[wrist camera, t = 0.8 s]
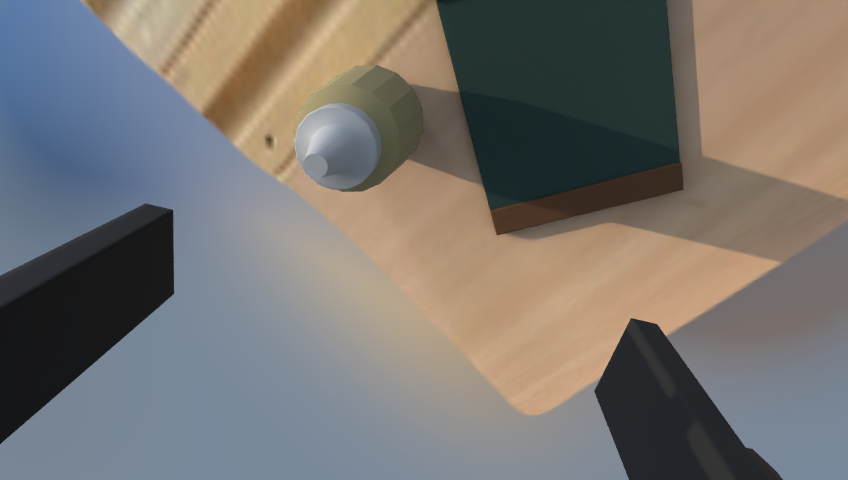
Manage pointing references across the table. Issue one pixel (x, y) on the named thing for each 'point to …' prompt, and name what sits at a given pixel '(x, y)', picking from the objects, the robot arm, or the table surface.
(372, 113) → the squeeze bottle
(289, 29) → the table surface
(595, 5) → the desk pad
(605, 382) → the robot arm
